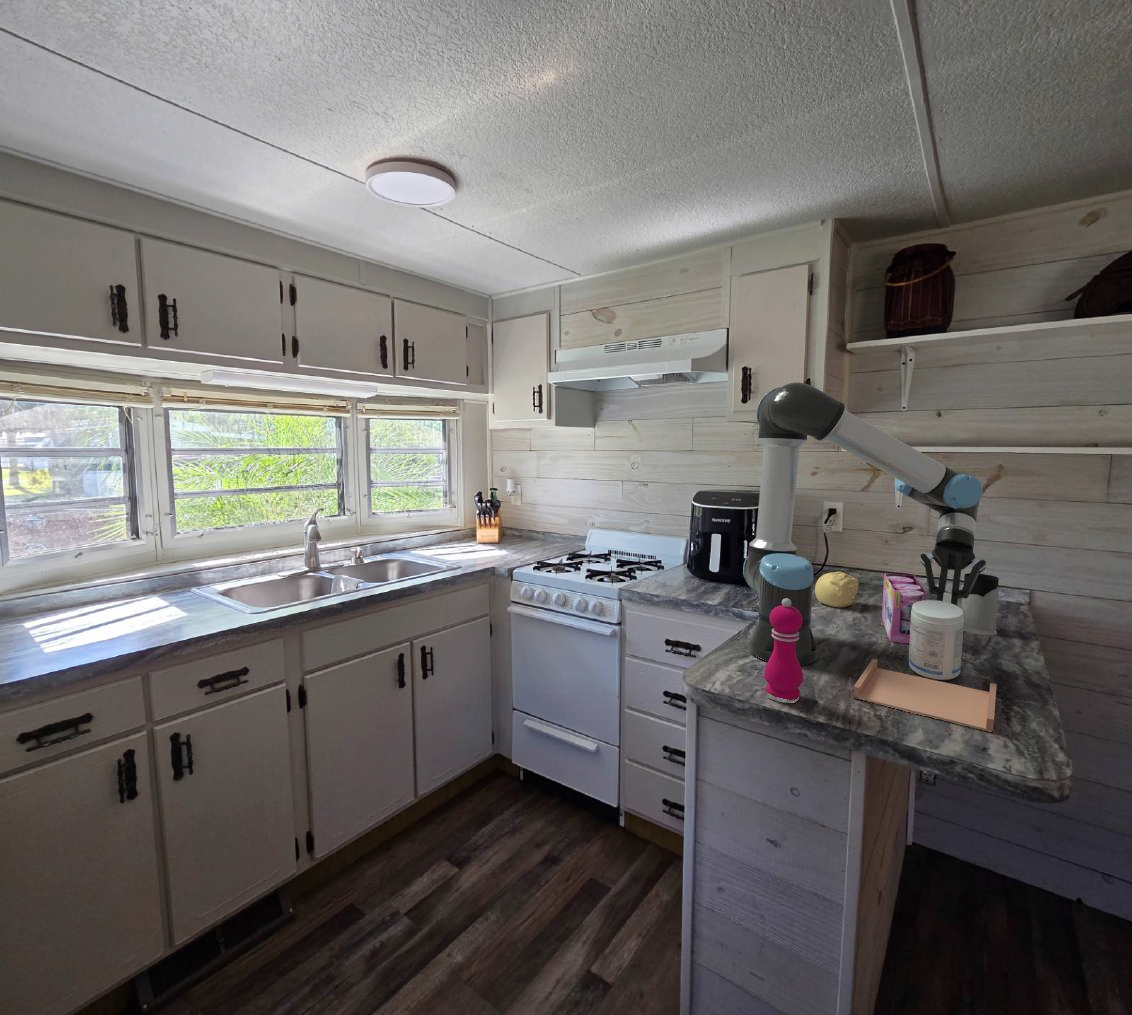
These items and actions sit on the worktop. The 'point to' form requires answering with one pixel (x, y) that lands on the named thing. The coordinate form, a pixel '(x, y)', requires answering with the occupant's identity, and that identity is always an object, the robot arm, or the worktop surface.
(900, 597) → the gum box
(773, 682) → the pepper mill
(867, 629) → the worktop surface
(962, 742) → the worktop surface
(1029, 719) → the worktop surface
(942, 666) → the supplement tub
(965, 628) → the glass holder
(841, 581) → the sculpture
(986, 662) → the worktop surface
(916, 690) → the tan shallow tray
